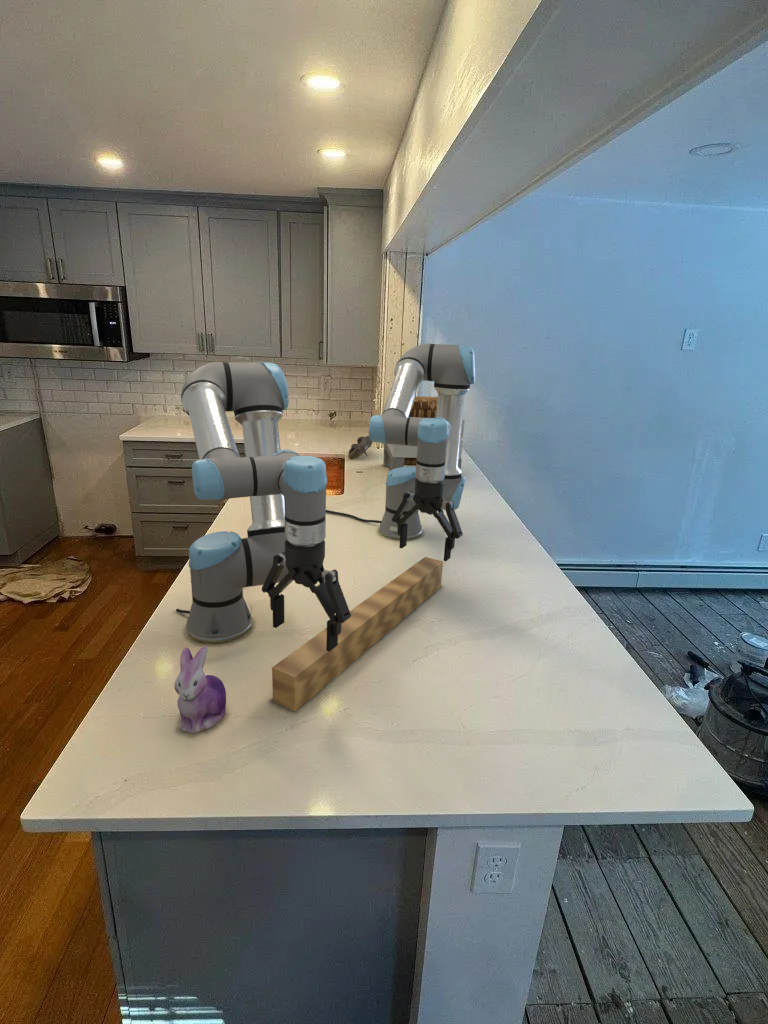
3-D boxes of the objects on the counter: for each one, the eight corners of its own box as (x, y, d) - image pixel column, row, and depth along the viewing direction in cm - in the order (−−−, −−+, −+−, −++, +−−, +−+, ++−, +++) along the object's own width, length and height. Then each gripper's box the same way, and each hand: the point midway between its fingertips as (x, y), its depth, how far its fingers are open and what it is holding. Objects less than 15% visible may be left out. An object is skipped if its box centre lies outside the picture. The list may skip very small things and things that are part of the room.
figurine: (181, 742, 101) (174, 672, 96) (173, 708, 110) (166, 641, 105) (234, 727, 105) (230, 658, 100) (222, 695, 114) (218, 630, 109)
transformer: (382, 463, 289) (386, 382, 275) (445, 464, 293) (451, 384, 279) (390, 482, 257) (394, 392, 243) (460, 483, 261) (468, 394, 247)
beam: (423, 581, 166) (425, 556, 163) (441, 586, 163) (443, 561, 160) (272, 701, 113) (271, 667, 110) (294, 711, 110) (294, 677, 108)
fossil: (348, 442, 312) (369, 426, 307) (359, 455, 315) (380, 440, 310) (341, 456, 292) (364, 439, 287) (353, 470, 295) (376, 454, 290)
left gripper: (241, 529, 109) (245, 623, 116) (348, 565, 97) (344, 668, 105) (268, 517, 115) (270, 608, 122) (372, 550, 103) (366, 648, 111)
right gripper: (381, 473, 150) (378, 546, 158) (468, 492, 139) (460, 570, 146) (395, 467, 156) (392, 537, 164) (479, 485, 145) (472, 559, 152)
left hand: (304, 636), depth 114 cm, fingers open, 13 cm apart
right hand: (424, 553), depth 155 cm, fingers open, 13 cm apart
